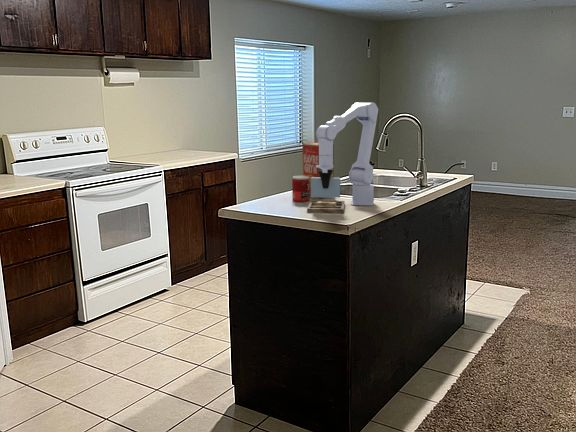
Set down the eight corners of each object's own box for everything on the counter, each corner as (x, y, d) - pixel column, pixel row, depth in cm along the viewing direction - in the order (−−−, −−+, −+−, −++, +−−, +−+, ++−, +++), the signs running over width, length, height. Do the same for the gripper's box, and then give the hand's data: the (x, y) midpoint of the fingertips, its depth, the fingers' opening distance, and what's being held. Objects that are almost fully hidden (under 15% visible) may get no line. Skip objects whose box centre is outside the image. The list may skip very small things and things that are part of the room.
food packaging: (301, 195, 275) (301, 143, 270) (316, 193, 281) (316, 142, 275) (319, 199, 265) (319, 145, 259) (334, 196, 270) (335, 143, 265)
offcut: (336, 209, 244) (336, 202, 243) (334, 210, 241) (334, 203, 240) (318, 208, 246) (318, 201, 246) (316, 209, 243) (316, 202, 243)
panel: (340, 196, 237) (340, 177, 236) (340, 197, 235) (340, 178, 234) (311, 196, 239) (311, 177, 237) (310, 197, 237) (311, 178, 235)
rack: (344, 204, 252) (344, 201, 251) (343, 213, 234) (343, 209, 234) (310, 204, 253) (310, 200, 253) (307, 212, 236) (307, 208, 236)
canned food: (304, 202, 257) (304, 178, 254) (289, 201, 261) (288, 177, 258) (312, 199, 263) (312, 176, 260) (297, 198, 267) (297, 174, 265)
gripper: (317, 153, 241) (317, 184, 244) (314, 157, 227) (314, 190, 230) (334, 153, 240) (333, 185, 243) (332, 157, 226) (332, 190, 229)
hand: (325, 187), depth 236 cm, fingers closed on panel, 2 cm apart
